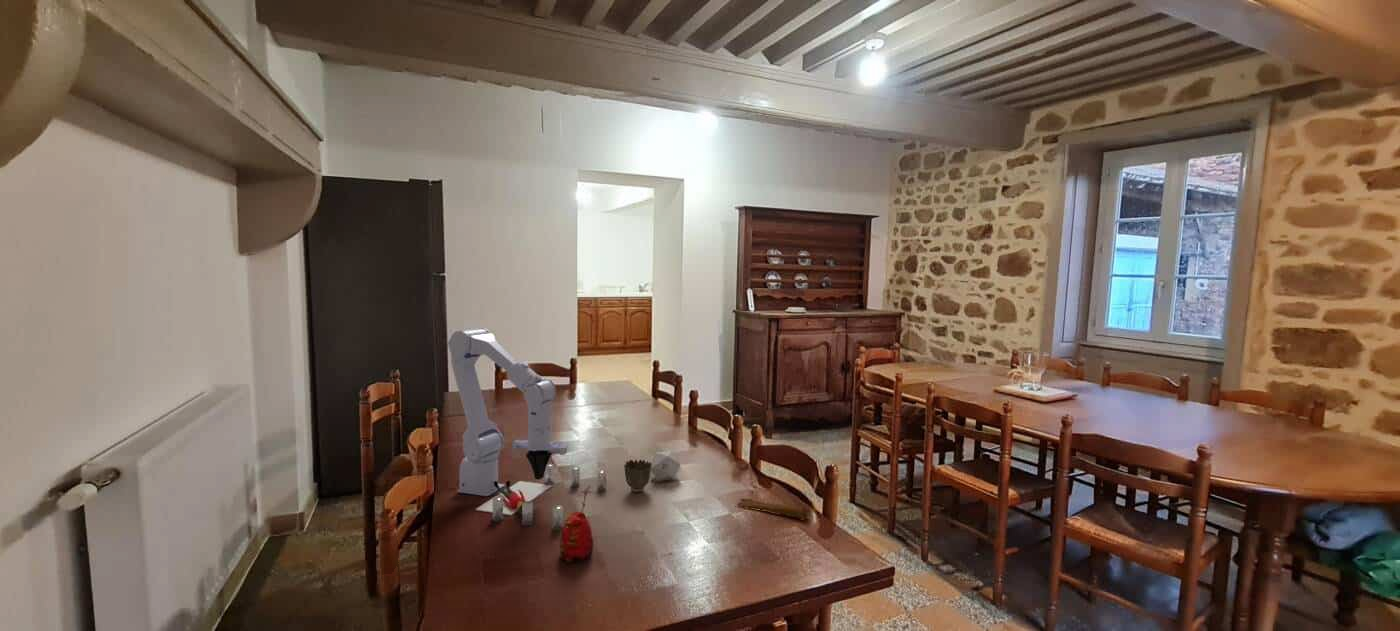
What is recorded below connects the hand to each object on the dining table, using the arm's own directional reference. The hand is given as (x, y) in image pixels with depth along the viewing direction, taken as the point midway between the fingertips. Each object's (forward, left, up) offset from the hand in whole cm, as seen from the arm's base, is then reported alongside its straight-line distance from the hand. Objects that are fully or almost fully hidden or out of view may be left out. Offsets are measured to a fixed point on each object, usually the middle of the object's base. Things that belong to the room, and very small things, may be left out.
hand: (539, 478), depth 150 cm
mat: (-7, 0, -6) cm, 9 cm away
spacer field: (+3, 0, -6) cm, 7 cm away
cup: (+22, +14, -6) cm, 27 cm away
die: (+26, +26, -6) cm, 37 cm away
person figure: (-6, -3, -6) cm, 9 cm away
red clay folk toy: (+22, -23, -6) cm, 33 cm away
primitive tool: (+59, +13, -7) cm, 60 cm away
